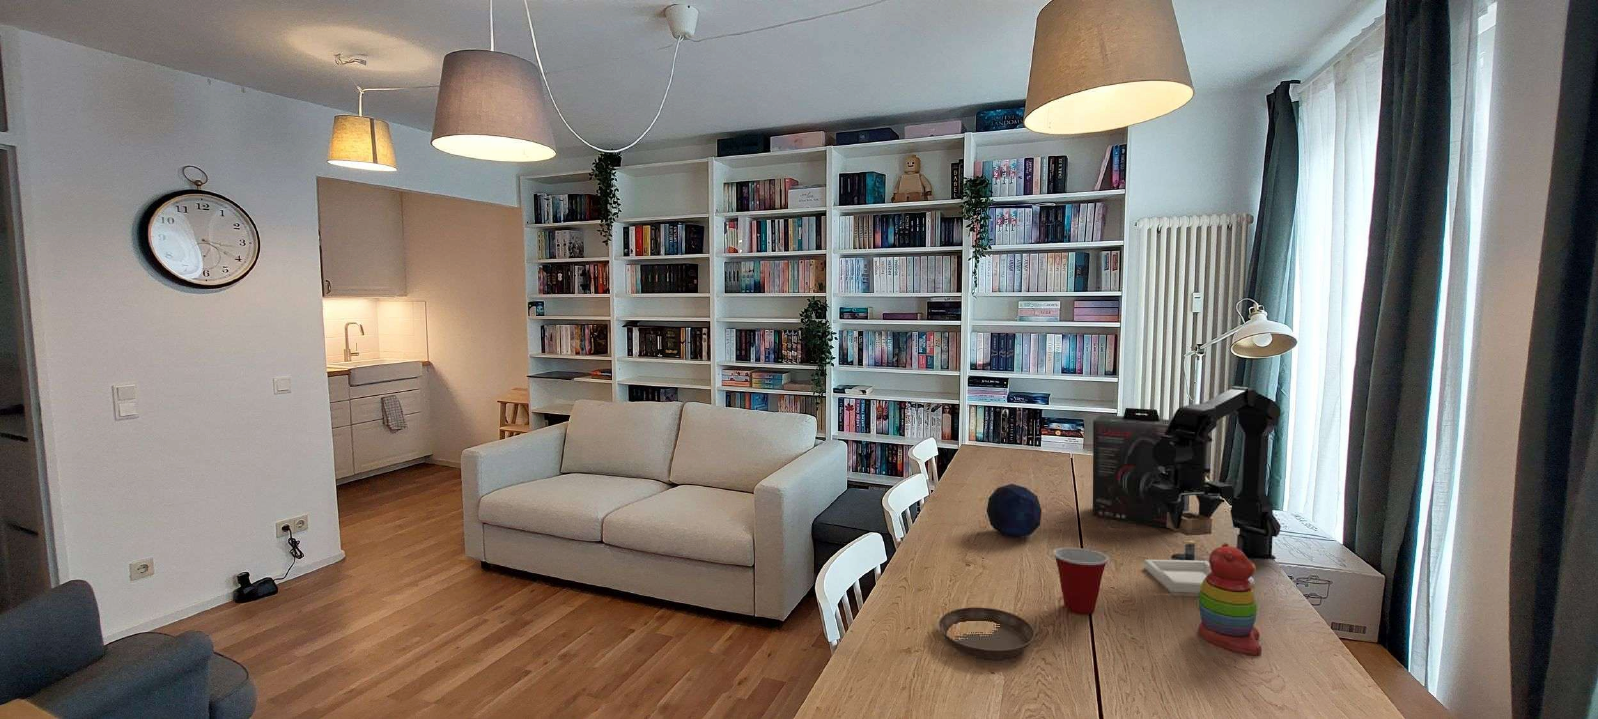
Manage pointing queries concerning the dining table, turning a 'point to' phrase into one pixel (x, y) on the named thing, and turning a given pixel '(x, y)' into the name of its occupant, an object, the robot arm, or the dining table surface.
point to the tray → (1179, 574)
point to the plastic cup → (1080, 577)
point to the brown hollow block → (1192, 524)
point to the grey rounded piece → (1188, 553)
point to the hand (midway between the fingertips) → (1188, 527)
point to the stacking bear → (1229, 602)
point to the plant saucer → (998, 645)
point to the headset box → (1128, 467)
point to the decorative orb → (1014, 511)
